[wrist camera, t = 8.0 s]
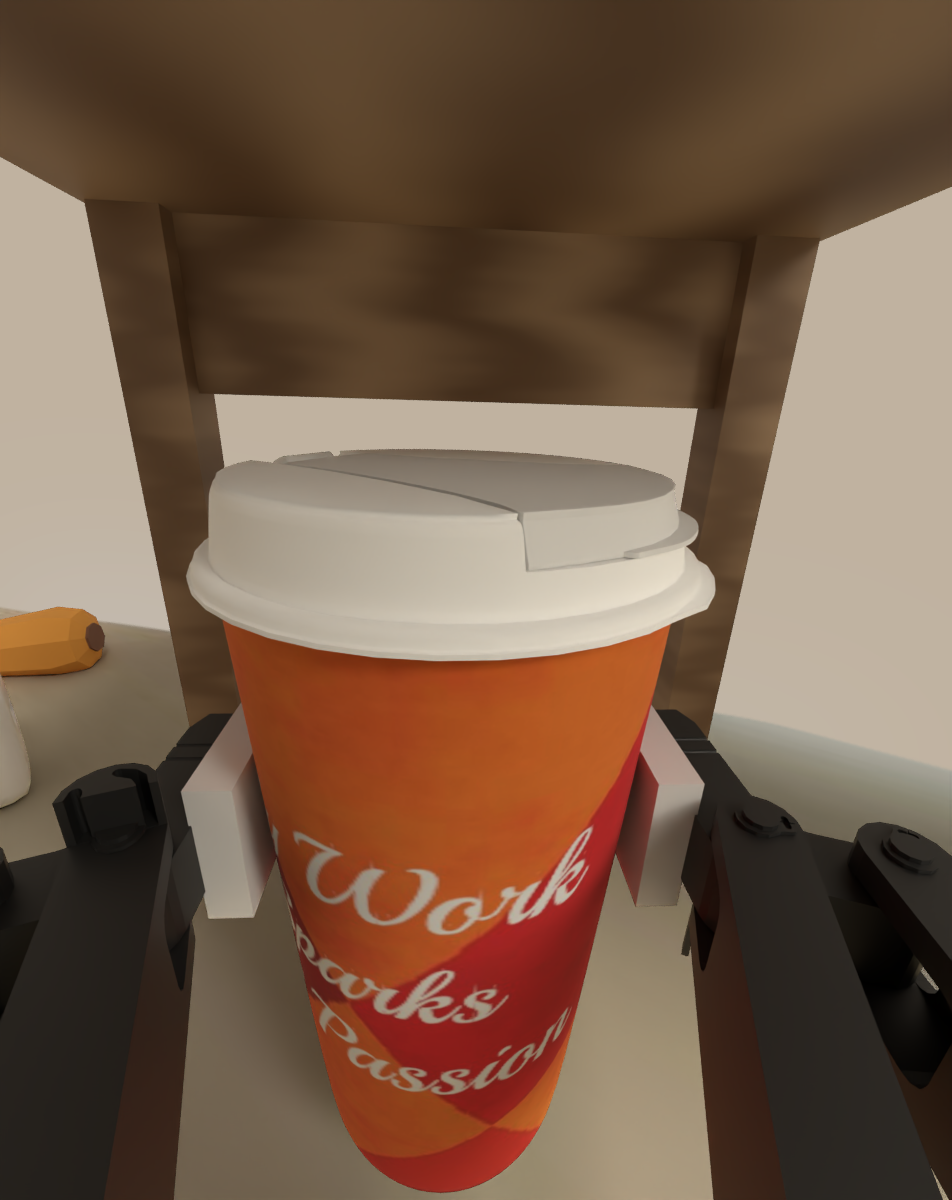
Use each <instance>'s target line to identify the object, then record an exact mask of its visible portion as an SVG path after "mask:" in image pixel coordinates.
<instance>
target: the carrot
mask: <svg viewBox="0 0 952 1200" xmlns="http://www.w3.org/2000/svg"><path fill="white" fill-rule="evenodd" d="M104 639H105V635H104V633H103V630H102V628H101V626H100V625H99V624H98V621H97V619H96V617H95V616H93V615H91V614H90V613H88V612H86V611H85V610H83V609H74V608H65V607H55V608H51V609H46V610H42V611H37V612H33V613H28V614H24V615H19V616H15V617H11V618H6V619H2V620H0V674H1V676H18V675H44V674H64V673H69V672H74V671H79V670H84V669H87V668H90V667H91V666H92V665H93V664H94V663H95V662H96V661H97V660H98V659H99V658H100V657H101V656H102V647H103V646H104Z"/></svg>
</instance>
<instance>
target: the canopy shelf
mask: <svg viewBox="0 0 952 1200" xmlns="http://www.w3.org/2000/svg"><path fill="white" fill-rule="evenodd" d="M0 157H2V158H3V159H5V160H7V161H9V162H11V163H13V164H14V165H16V166H18V167H20V168H22V169H23V170H25V171H27V172H29V173H31V174H33V175H35V176H36V177H38V178H40V179H42V180H43V181H45V182H47V183H49V184H51V185H53V186H54V187H56V188H58V189H60V190H62V191H64V192H66V193H68V194H69V195H71V196H73V197H75V198H77V199H79V200H80V201H82V202H84V203H85V207H86V212H87V217H88V222H89V227H90V232H91V237H92V241H93V247H94V252H95V257H96V261H97V267H98V272H99V277H100V282H101V287H102V292H103V297H104V301H105V307H106V312H107V317H108V322H109V326H110V331H111V336H112V342H113V347H114V352H115V357H116V362H117V367H118V372H119V377H120V382H121V387H122V391H123V397H124V401H125V406H126V411H127V417H128V422H129V426H130V432H131V436H132V441H133V447H134V452H135V456H136V462H137V466H138V471H139V477H140V481H141V486H142V491H143V496H144V501H145V506H146V511H147V516H148V521H149V526H150V531H151V536H152V541H153V546H154V551H155V556H156V561H157V566H158V571H159V576H160V581H161V586H162V591H163V596H164V601H165V606H166V611H167V616H168V621H169V626H170V631H171V636H172V641H173V646H174V651H175V656H176V661H177V666H178V671H179V676H180V681H181V686H182V691H183V696H184V701H185V706H186V711H187V716H188V721H189V726H190V727H191V726H192V725H194V724H195V723H197V722H198V721H200V720H201V719H203V718H204V717H206V716H207V715H209V714H223V713H234V712H235V711H236V709H237V708H238V706H239V705H240V703H241V699H240V695H239V690H238V686H237V682H236V677H235V673H234V668H233V664H232V660H231V655H230V651H229V647H228V642H227V638H226V633H225V629H224V625H223V620H222V619H221V618H219V617H217V616H216V615H214V614H212V613H210V612H209V611H207V610H205V609H204V608H203V607H202V605H201V604H200V603H199V602H198V601H197V600H196V599H195V598H194V597H193V596H192V595H191V592H190V589H189V586H188V583H187V578H186V575H187V571H188V568H189V564H190V562H191V561H192V558H193V555H194V551H195V550H196V549H197V548H198V547H199V546H200V545H201V544H202V543H203V541H204V540H206V539H207V538H209V492H210V488H211V485H212V481H213V480H214V479H215V476H216V473H217V472H218V471H220V470H221V469H223V468H224V461H223V454H222V447H221V440H220V434H219V426H218V419H217V412H216V404H215V399H214V394H233V395H267V396H268V395H269V396H300V397H303V396H304V397H333V398H367V399H402V400H433V401H466V402H469V401H470V402H499V403H500V402H501V403H532V404H533V403H534V404H566V405H600V406H632V407H665V408H698V410H697V417H696V422H695V429H694V434H693V440H692V446H691V452H690V457H689V464H688V469H687V475H686V481H685V487H684V493H683V498H682V504H681V510H680V511H682V512H684V513H686V514H688V515H689V516H691V517H692V518H694V519H695V520H696V521H697V523H698V535H697V537H696V539H695V540H694V541H693V542H692V543H691V544H689V545H687V546H686V547H687V548H688V549H690V550H691V551H692V552H693V553H694V555H695V556H696V558H697V560H698V561H700V562H702V563H704V564H705V565H707V566H708V568H709V569H710V571H711V573H712V574H713V576H714V577H715V595H714V597H713V599H712V601H711V603H710V605H709V607H708V608H707V609H706V610H704V611H701V612H698V613H696V614H693V615H691V616H688V617H686V618H683V619H681V620H678V621H676V622H674V623H672V624H671V625H670V629H669V633H668V637H667V641H666V646H665V650H664V654H663V658H662V662H661V666H660V670H659V674H658V678H657V683H656V687H655V691H654V695H653V699H652V703H651V705H652V706H653V708H654V709H655V710H664V709H676V710H678V711H679V712H681V713H682V714H684V715H685V716H687V717H688V718H689V719H691V720H692V721H694V722H695V723H696V724H697V726H698V727H699V728H700V729H701V731H702V732H703V733H704V735H705V736H706V737H707V739H708V734H709V730H710V725H711V721H712V717H713V712H714V708H715V703H716V699H717V694H718V689H719V685H720V681H721V677H722V672H723V668H724V663H725V659H726V654H727V650H728V645H729V641H730V637H731V632H732V628H733V623H734V619H735V614H736V610H737V605H738V601H739V597H740V592H741V588H742V583H743V579H744V573H745V570H746V565H747V560H748V556H749V552H750V548H751V543H752V539H753V534H754V530H755V525H756V521H757V516H758V512H759V507H760V503H761V499H762V494H763V490H764V485H765V481H766V476H767V472H768V468H769V463H770V458H771V454H772V450H773V445H774V441H775V437H776V431H777V428H778V423H779V419H780V414H781V410H782V405H783V401H784V397H785V392H786V388H787V383H788V379H789V374H790V370H791V365H792V361H793V357H794V352H795V348H796V343H797V339H798V334H799V330H800V325H801V321H802V317H803V312H804V308H805V303H806V299H807V294H808V290H809V286H810V281H811V277H812V272H813V268H814V263H815V259H816V254H817V250H818V246H819V241H822V240H824V239H826V238H829V237H831V236H834V235H836V234H839V233H841V232H843V231H846V230H848V229H851V228H853V227H855V226H858V225H860V224H863V223H865V222H868V221H870V220H872V219H875V218H877V217H880V216H882V215H884V214H887V213H889V212H892V211H894V210H896V209H898V208H901V207H904V206H906V205H909V204H911V203H913V202H916V201H918V200H920V199H923V198H926V197H928V196H930V195H933V194H935V193H938V192H940V191H942V190H945V189H947V188H950V187H952V0H0Z"/></svg>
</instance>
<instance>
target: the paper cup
mask: <svg viewBox="0 0 952 1200" xmlns="http://www.w3.org/2000/svg"><path fill="white" fill-rule="evenodd" d="M674 490H675V483H674V482H673V480H672V479H670V478H668V477H666V476H664V475H661V474H658V473H655V472H651V471H648V470H645V469H641V468H637V467H633V466H629V465H622V464H617V463H611V462H604V461H597V460H590V459H582V458H573V457H562V456H553V455H541V454H528V453H514V452H495V451H473V450H472V451H471V450H436V449H434V450H433V449H396V450H395V449H388V450H353V451H352V450H351V451H340V455H339V456H333V454H332V453H331V452H320V453H310V454H301V455H292V456H283V457H281V458H278V459H277V460H275V461H274V462H273V463H269V462H261V461H252V460H250V461H246V462H242V463H237V464H234V465H231V466H228V467H225V468H223V469H221V470H220V471H218V472H217V473H216V476H215V479H214V480H213V481H212V485H211V488H210V492H209V538H207V539H206V540H204V541H203V543H202V544H201V545H200V546H199V547H198V548H197V549H196V550H195V551H194V555H193V558H192V561H191V562H190V564H189V568H188V571H187V575H186V578H187V583H188V586H189V589H190V592H191V595H192V596H193V597H194V598H195V599H196V600H197V601H198V602H199V603H200V604H201V605H202V607H203V608H204V609H205V610H207V611H209V612H210V613H212V614H214V615H216V616H217V617H219V618H221V619H222V620H223V625H224V629H225V633H226V638H227V642H228V647H229V651H230V655H231V660H232V664H233V668H234V673H235V677H236V682H237V686H238V690H239V695H240V699H241V703H242V708H243V712H244V717H245V721H246V725H247V730H248V734H249V738H250V743H251V747H252V752H253V756H254V760H255V765H256V769H257V773H258V778H259V782H260V787H261V791H262V795H263V800H264V804H265V809H266V813H267V817H268V822H269V826H270V831H271V835H272V839H273V844H274V848H275V853H276V857H277V861H278V866H279V870H280V875H281V879H282V883H283V888H284V892H285V897H286V901H287V905H288V910H289V914H290V918H291V922H292V927H293V931H294V935H295V940H296V944H297V948H298V953H299V957H300V961H301V966H302V970H303V974H304V978H305V983H306V987H307V991H308V995H309V1000H310V1004H311V1008H312V1012H313V1016H314V1020H315V1025H316V1029H317V1033H318V1037H319V1041H320V1045H321V1049H322V1053H323V1057H324V1061H325V1065H326V1069H327V1073H328V1076H329V1080H330V1084H331V1087H332V1091H333V1094H334V1097H335V1100H336V1103H337V1106H338V1109H339V1112H340V1115H341V1117H342V1120H343V1122H344V1124H345V1127H346V1128H347V1130H348V1132H349V1134H350V1136H351V1138H352V1139H353V1141H354V1142H355V1144H356V1145H357V1147H358V1149H359V1150H360V1151H361V1152H362V1154H363V1155H364V1156H365V1157H366V1158H367V1159H368V1160H369V1162H370V1163H371V1164H372V1165H373V1166H375V1167H376V1168H377V1169H378V1170H379V1171H380V1172H382V1173H383V1174H385V1175H386V1176H387V1177H389V1178H391V1179H392V1180H394V1181H396V1182H398V1183H400V1184H402V1185H405V1186H407V1187H410V1188H413V1189H417V1190H421V1191H426V1192H437V1193H444V1192H455V1191H461V1190H465V1189H468V1188H472V1187H474V1186H477V1185H479V1184H482V1183H484V1182H486V1181H488V1180H490V1179H491V1178H493V1177H495V1176H496V1175H498V1174H499V1173H501V1172H502V1171H503V1170H505V1169H506V1168H507V1167H508V1166H509V1165H511V1164H512V1163H513V1162H514V1161H515V1160H516V1159H517V1158H518V1157H519V1156H520V1154H521V1153H522V1152H523V1151H524V1150H525V1148H526V1147H527V1146H528V1144H529V1143H530V1142H531V1140H532V1139H533V1137H534V1135H535V1134H536V1132H537V1130H538V1129H539V1127H540V1125H541V1123H542V1121H543V1119H544V1117H545V1115H546V1112H547V1110H548V1108H549V1105H550V1102H551V1099H552V1096H553V1093H554V1090H555V1087H556V1084H557V1081H558V1078H559V1074H560V1071H561V1067H562V1063H563V1060H564V1056H565V1053H566V1049H567V1045H568V1041H569V1037H570V1033H571V1029H572V1025H573V1021H574V1018H575V1014H576V1010H577V1006H578V1002H579V998H580V994H581V990H582V986H583V982H584V978H585V974H586V970H587V966H588V962H589V958H590V954H591V950H592V946H593V942H594V938H595V933H596V929H597V925H598V921H599V917H600V913H601V909H602V905H603V901H604V897H605V893H606V889H607V885H608V881H609V876H610V872H611V868H612V864H613V860H614V856H615V852H616V847H617V843H618V839H619V835H620V831H621V827H622V823H623V819H624V814H625V810H626V806H627V802H628V798H629V794H630V790H631V785H632V781H633V777H634V773H635V769H636V765H637V761H638V757H639V752H640V748H641V744H642V740H643V736H644V732H645V728H646V724H647V720H648V715H649V711H650V707H651V703H652V699H653V695H654V691H655V687H656V683H657V678H658V674H659V670H660V666H661V662H662V658H663V654H664V650H665V646H666V641H667V637H668V633H669V629H670V625H671V624H672V623H674V622H676V621H678V620H681V619H683V618H686V617H688V616H691V615H693V614H696V613H698V612H701V611H704V610H706V609H707V608H708V607H709V605H710V603H711V601H712V599H713V597H714V595H715V577H714V576H713V574H712V573H711V571H710V569H709V568H708V566H707V565H705V564H704V563H702V562H700V561H698V560H697V558H696V556H695V555H694V553H693V552H692V551H691V550H690V549H688V548H687V547H686V546H687V545H689V544H691V543H692V542H693V541H694V540H695V539H696V537H697V535H698V523H697V521H696V520H695V519H694V518H692V517H691V516H689V515H688V514H686V513H684V512H682V511H680V510H678V509H677V504H676V499H675V492H674Z"/></svg>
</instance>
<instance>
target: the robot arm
mask: <svg viewBox="0 0 952 1200" xmlns="http://www.w3.org/2000/svg"><path fill="white" fill-rule="evenodd" d="M52 804H53V807H54V810H55V813H56V816H57V819H58V822H59V825H60V828H61V831H62V834H63V837H64V840H65V843H66V846H67V848H65V849H62V850H59V851H56V852H51V853H47V854H43V855H39V856H35V857H31V858H27V859H23V860H19V861H14V862H10V863H8V862H7V859H6V857H5V854H4V851H3V849H2V848H1V847H0V1200H174V1188H175V1176H176V1164H177V1152H178V1140H179V1128H180V1117H181V1105H182V1093H183V1081H184V1069H185V1057H186V1045H187V1033H188V1021H189V1009H190V997H191V985H192V973H193V962H194V950H195V935H194V929H193V925H192V921H191V920H192V918H193V916H194V914H195V912H196V910H197V908H198V906H199V904H200V902H201V900H202V898H203V896H204V900H205V904H206V909H207V913H208V918H209V919H218V918H252V917H254V916H255V913H256V910H257V908H258V905H259V902H260V899H261V897H262V894H263V891H264V889H265V886H266V883H267V881H268V878H269V875H270V872H271V870H272V867H273V864H274V862H275V859H276V853H275V848H274V844H273V839H272V835H271V831H270V826H269V822H268V817H267V813H266V809H265V804H264V800H263V795H262V791H261V787H260V782H259V778H258V773H257V769H256V765H255V760H254V756H253V752H252V747H251V743H250V738H249V734H248V730H247V725H246V721H245V717H244V712H243V708H242V703H240V705H239V706H238V708H237V709H236V711H235V712H234V713H223V714H209V715H207V716H206V717H204V718H203V719H201V720H200V721H198V722H197V723H195V724H194V725H192V726H191V727H189V729H188V730H187V731H186V732H185V734H184V735H183V736H182V737H181V739H180V740H179V741H178V743H177V746H176V747H174V748H173V749H172V750H171V752H170V753H169V754H168V755H167V757H166V761H163V762H162V763H161V764H160V766H159V767H158V768H157V770H156V771H155V770H153V769H152V768H151V767H149V766H148V765H142V764H137V763H129V764H119V765H113V766H110V767H107V768H103V769H100V770H96V771H94V772H92V773H90V774H88V775H86V776H84V777H82V778H80V779H78V780H76V781H75V782H73V783H72V784H71V785H69V786H68V787H67V788H65V789H64V790H63V791H61V793H60V794H59V795H58V797H57V798H56V799H55V801H54V802H53V803H52ZM616 855H617V858H618V860H619V863H620V866H621V868H622V871H623V874H624V877H625V879H626V882H627V885H628V887H629V890H630V893H631V895H632V898H633V901H634V903H635V906H636V907H638V906H674V905H677V902H678V897H679V893H680V889H681V884H682V882H683V884H684V886H685V888H686V890H687V892H688V894H689V896H690V898H691V900H692V902H693V905H692V909H691V913H690V917H689V921H688V925H687V929H686V933H685V937H684V942H683V947H682V953H681V954H682V955H685V956H688V954H689V950H690V946H691V954H692V965H693V976H694V987H695V998H696V1009H697V1021H698V1032H699V1043H700V1054H701V1065H702V1076H703V1087H704V1098H705V1109H706V1120H707V1132H708V1143H709V1154H710V1165H711V1176H712V1187H713V1198H714V1200H943V1199H942V1196H941V1193H940V1191H939V1188H938V1185H937V1183H936V1180H935V1177H934V1175H933V1172H934V1174H935V1175H936V1177H937V1179H938V1181H939V1183H940V1184H941V1186H942V1188H943V1190H944V1192H945V1193H946V1195H947V1197H948V1199H949V1200H952V856H951V855H949V854H948V853H947V852H946V851H945V850H943V849H942V848H941V847H940V846H939V845H937V844H936V843H934V842H932V841H931V840H929V839H927V838H925V837H924V836H922V835H920V834H918V833H916V832H914V831H912V830H908V829H906V828H903V827H901V826H898V825H893V824H887V823H882V822H876V823H866V824H865V825H864V826H862V827H861V828H860V829H858V832H857V835H856V837H855V840H854V843H852V842H847V841H843V840H838V839H834V838H829V837H824V836H820V835H815V834H811V833H808V832H805V831H803V830H802V828H801V827H800V825H799V824H798V822H797V821H796V820H795V819H794V818H793V817H792V816H791V815H790V814H789V813H787V812H786V811H785V810H784V809H782V808H780V807H779V806H777V805H775V804H773V803H771V802H769V801H767V800H764V799H761V798H758V797H755V796H752V795H750V793H749V792H748V791H747V789H746V788H745V787H744V786H743V784H742V783H741V782H740V780H739V779H738V778H737V776H736V775H735V774H734V773H733V771H732V770H731V769H730V767H729V766H728V765H727V763H726V762H725V761H724V759H723V758H722V757H721V756H720V754H719V753H716V749H715V748H714V746H713V745H712V744H711V743H710V741H707V737H706V736H705V735H704V733H703V732H702V731H701V729H700V728H699V727H698V726H697V724H696V723H695V722H694V721H692V720H691V719H689V718H688V717H687V716H685V715H684V714H682V713H681V712H679V711H678V710H676V709H664V710H655V709H654V708H653V706H652V705H651V707H650V711H649V715H648V720H647V724H646V728H645V732H644V736H643V740H642V744H641V748H640V752H639V757H638V761H637V765H636V769H635V773H634V777H633V781H632V785H631V790H630V794H629V798H628V802H627V806H626V810H625V814H624V819H623V823H622V827H621V831H620V835H619V839H618V843H617V847H616ZM922 967H924V969H925V970H926V971H927V973H928V974H929V975H930V977H931V978H932V979H933V981H934V982H935V984H936V985H937V986H938V988H939V990H938V991H937V990H935V989H934V987H933V986H932V985H931V984H930V983H929V982H928V981H927V979H926V978H925V977H924V975H923V974H922V972H921V969H922ZM930 1166H931V1167H930ZM931 1168H932V1170H933V1172H932V1170H931Z"/></svg>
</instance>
